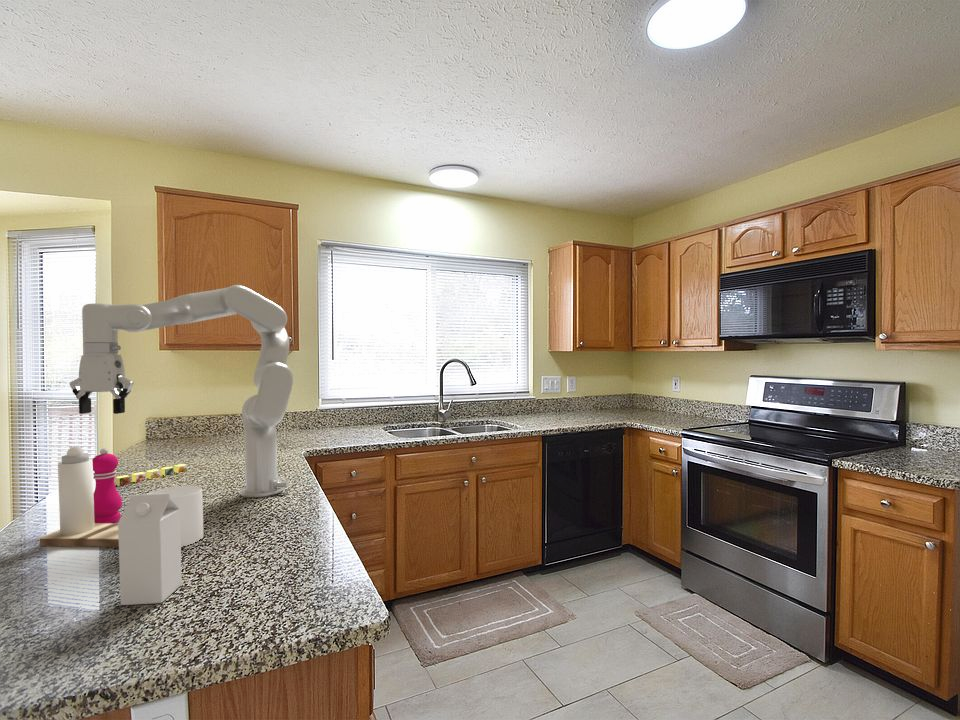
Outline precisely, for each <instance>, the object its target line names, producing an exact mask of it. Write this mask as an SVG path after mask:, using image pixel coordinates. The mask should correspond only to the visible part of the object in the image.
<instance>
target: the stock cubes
mask: <svg viewBox="0 0 960 720" xmlns="http://www.w3.org/2000/svg"><path fill="white" fill-rule="evenodd" d="M185 471H188V464H185V463H180V464H179V463H178V464H175V465H173V466H165V467H160V469H158V468H157V469H150V470H146V471H145V472H143V471H139V472H134V473H131V476H130V475H127V474H124V475H120V476H119V475H117V476H115V479H114V482H115V486H116V485H117V486H116V487H119V486H121V487H124V486H123V485H125V486H128V485H127V484H130V485H131V483H133V482H140V481H144V480H146V481H147V479H146V478H149V479H153V478H158V477H160V478H161V475H164V476H166V475H171V474H174V475H175V473H174V472H177V473H180V472H185ZM158 479H159V478H158ZM144 482H145V481H144ZM140 483H141V482H140Z"/></svg>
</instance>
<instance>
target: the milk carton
mask: <svg viewBox="0 0 960 720" xmlns="http://www.w3.org/2000/svg"><path fill="white" fill-rule="evenodd" d="M128 497H129V500H128V502H127V504H126V507H125V509H124V511H123V513H122V514H121V515H120V517H121V518H120V520H119V521H117V523H118V533H119V547H118V556H119V557H118V561H119V563H118V564H119V566H118V567H119V589H120V590H119V593H120V594H119V597H120V605H121V606H131V605H148V604H162V603H163V602H165V600H167V599H168V598H169V597H170V596H171V595H172V594H173V593H174V592H176V590H178V588H180V587H181V586H182V585H183V584H182V583H183V581H182V580H183V578H182V548H181V538H180V509H179V508H178V507H177V506H176V505H175V504H174V503H173V502H172V501H171V500H170V493H168V494H148V493H147V494H146V493H145V494H129V495H128Z"/></svg>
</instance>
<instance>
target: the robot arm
mask: <svg viewBox="0 0 960 720" xmlns="http://www.w3.org/2000/svg"><path fill="white" fill-rule="evenodd" d="M234 315H239V316H241V317H243V318H245V319H247V320H248V321H250V324H251V327H253V328H252V329H254V330H255V331H256V332H257V333H258V335H259V337H260V340H261V347H260V351H259V356H258V360H257V363H256V366H255V369H254V372H253V382H254V385H255V386H256V388H258V392H257V394H254V395H251V396H249V397H248V398H247V399H246V400H244V403H243V405H242V409H241V418H242V424H243V425H242V426H243V434H244V435H243V437H244V438H243V439H244V468H245V469H244V471H245V472H244V474H245V476H244V477H245V479H244V480H245V481H244V482H245V487H244V488H242V489H241V490H240V492H239V493H240V496H241V497H243V498H263V497H264V498H265V497H269V496H273V495H276V494H279V493H281V492H283V490H284V488H285V489H286V488H289V486H290V481H289V480H287V479H286V480H284V479H283V480H282V476H281V475H279V474H278V445H277V443H278V441H277V439H278V436H277V427H276V425H278V424H279V423H280V422H282V420H283V418H284V417H285V414H286V411H287V408H288V405H289V401H290V396H291V392H292V388H293V383H294V375H293V372H292V369H291V368H290V367H289V366H288V365H287V362H288V356H289V353H290V352H289V351H290V338H289V334H288V332H287V329H286V328H285V327H286V325H287V323H288V315H287V312H286V311H285V310H284V309H283V307H281V306H280V305H278V304H276V303H275V302H273V301H272V300H269V299H268V298H266V297H264V296H262V295H261V294H259V293H257V292H256V291H254V290H252V289H250V288H248V287H246V286H244V285H241V284H234V285H231V286H228V287H224V288H218V289H212V290H205V291H200V292H199V291H198V292H191V293H187V294H183V295H179V296H175V297H173V298H170V299H167V300H163V301H158V302H151V303H146V304H137V303H130V304H129V303H128V304H127V303H126V304H110V303H109V304H108V303H96V302H95V303H86V304H84V305H83V306H82V309H81V316H82V355H81V357H80V359H79V360H80V362H79V369H78V377H77V378H75V379H74V380H72V381H70V382H69V386H70V388H71V390H72V393H73V395H74V396H75V398H76V399H77V400H78V413H79V415H83V414H90V413H92V398H91V397H90V396H91V395H92V393H106V392H107V393H109V392H110V393H111V394H112V395H113V397H114V398H113V400H112V404H113V405H112V407H113V409H112V411H113V414H114V415H117V414H124V413H125V412H126V398H128V395H129V394H130V393H131V391H132V389H133V386H134V384H135V382H134V381H133V380H130V379H128V378H127V377H126V372H125V365H124V360H123V356H122V355H121V354H119V351H121V350H122V349H121V348H122V347H121V345H119V343H118V341H119V340H118V339H119V337H118V335H119V334H118V330H123V331H124V332H128V333H138V332H144V331H148V330H149V331H150V330H154V329H159V328H165V327H170V326H176V325H177V326H178V325H187V324H192V323H193V324H194V323H198V322H203V321H208V320H215V319H219V318H223V317H230V316H234Z"/></svg>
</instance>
